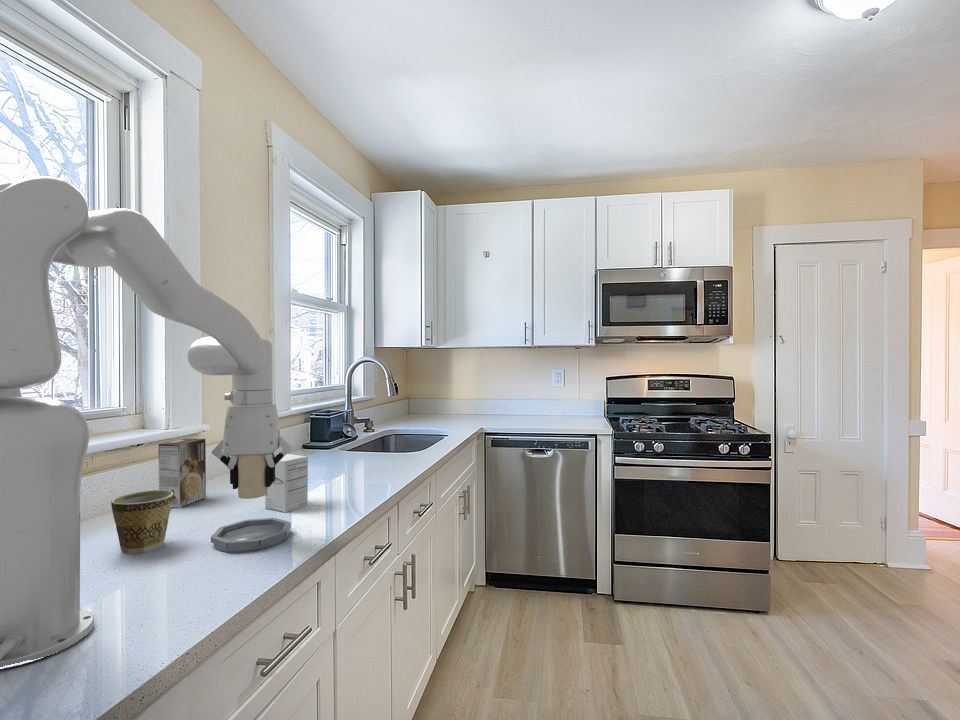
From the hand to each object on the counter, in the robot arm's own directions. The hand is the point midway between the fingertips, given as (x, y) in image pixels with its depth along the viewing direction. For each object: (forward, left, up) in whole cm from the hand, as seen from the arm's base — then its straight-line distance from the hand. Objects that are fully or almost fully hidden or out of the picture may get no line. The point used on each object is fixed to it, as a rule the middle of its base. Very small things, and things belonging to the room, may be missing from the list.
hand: (253, 485), depth 99 cm
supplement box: (+22, -3, -11) cm, 25 cm away
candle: (0, 0, -2) cm, 2 cm away
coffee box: (+32, +24, -11) cm, 41 cm away
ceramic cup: (+1, +21, -11) cm, 24 cm away
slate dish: (0, 0, -11) cm, 11 cm away
